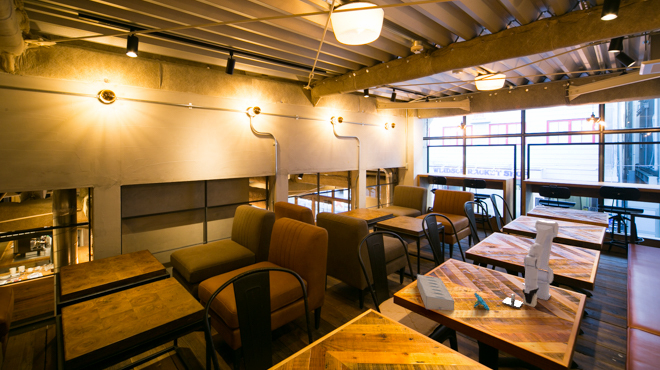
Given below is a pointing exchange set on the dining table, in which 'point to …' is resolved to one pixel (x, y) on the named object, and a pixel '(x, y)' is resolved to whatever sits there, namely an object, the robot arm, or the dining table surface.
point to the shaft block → (512, 302)
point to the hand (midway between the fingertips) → (530, 301)
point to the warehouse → (434, 293)
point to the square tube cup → (534, 301)
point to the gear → (480, 301)
